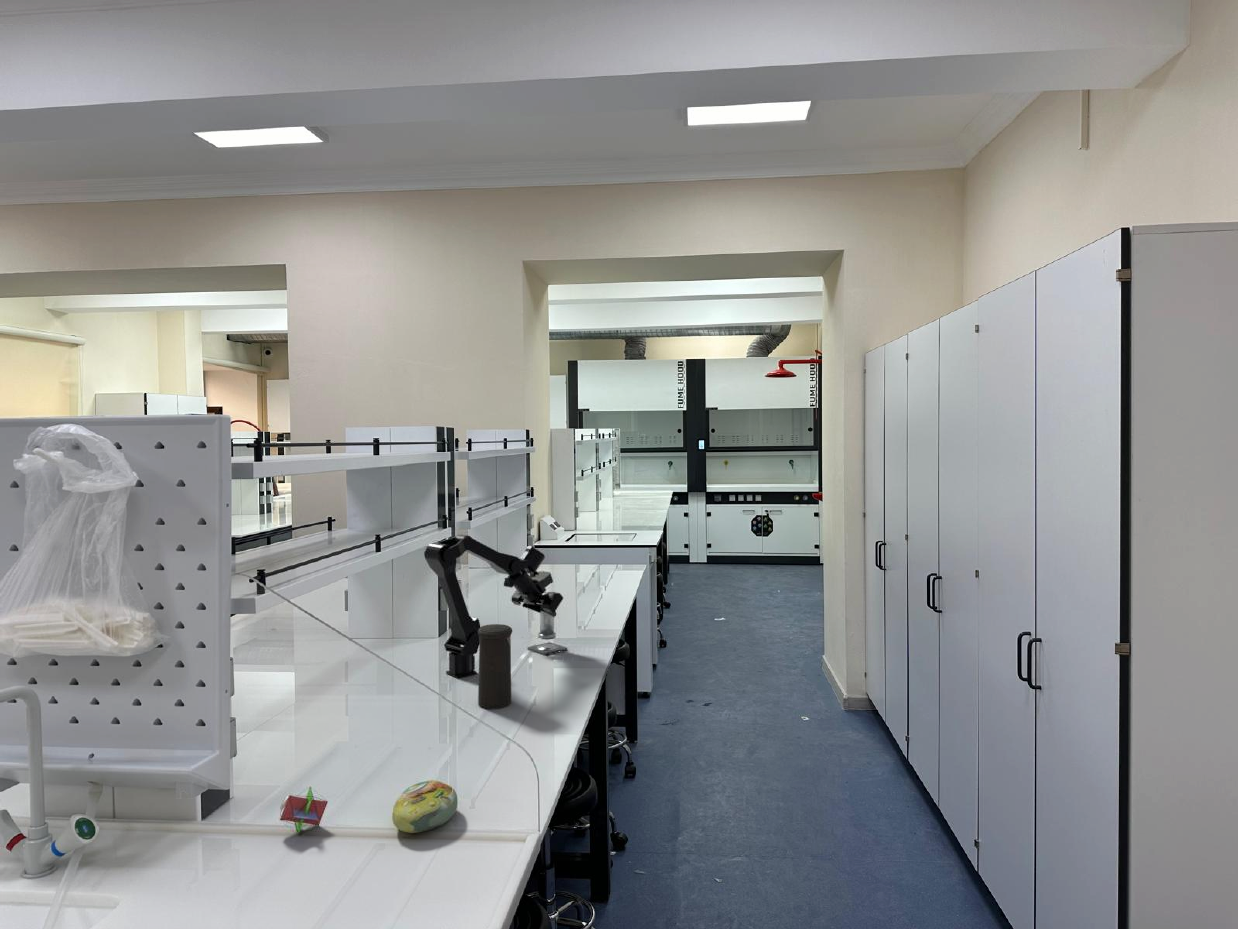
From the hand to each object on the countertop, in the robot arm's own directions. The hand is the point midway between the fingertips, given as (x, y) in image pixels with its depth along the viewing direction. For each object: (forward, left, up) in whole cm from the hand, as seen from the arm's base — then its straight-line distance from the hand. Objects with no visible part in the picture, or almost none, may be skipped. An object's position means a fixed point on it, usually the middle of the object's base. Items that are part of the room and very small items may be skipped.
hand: (550, 614), depth 248 cm
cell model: (-85, -71, -12) cm, 111 cm away
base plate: (-1, 0, -11) cm, 11 cm away
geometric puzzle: (-102, -60, -11) cm, 119 cm away
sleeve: (-1, 0, -7) cm, 7 cm away
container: (-42, -30, -11) cm, 53 cm away
